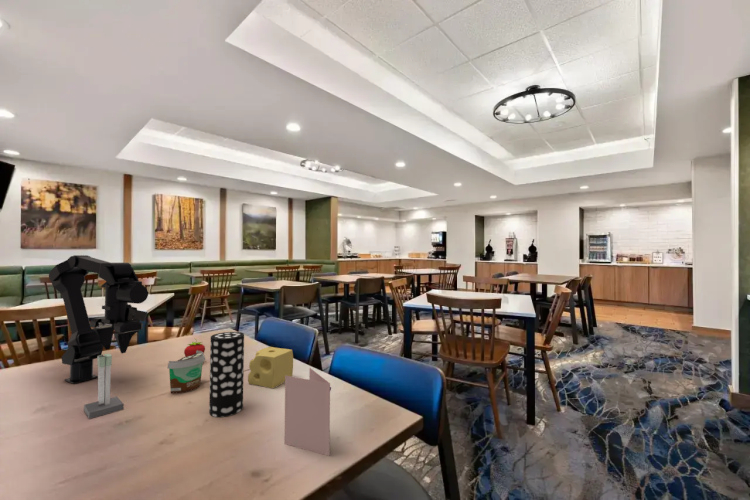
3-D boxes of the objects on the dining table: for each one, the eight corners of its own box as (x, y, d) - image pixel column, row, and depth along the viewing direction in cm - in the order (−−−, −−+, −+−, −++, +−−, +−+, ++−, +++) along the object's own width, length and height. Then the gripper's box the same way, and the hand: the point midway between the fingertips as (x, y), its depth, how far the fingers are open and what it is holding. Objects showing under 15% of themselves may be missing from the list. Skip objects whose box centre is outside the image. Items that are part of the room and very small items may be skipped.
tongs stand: (84, 410, 87) (85, 355, 87) (116, 401, 92) (118, 350, 93) (89, 419, 83) (90, 361, 83) (123, 409, 88) (124, 355, 88)
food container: (184, 397, 96) (185, 363, 96) (166, 395, 97) (167, 361, 97) (213, 381, 108) (213, 351, 108) (197, 380, 109) (197, 350, 109)
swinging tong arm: (97, 402, 88) (97, 355, 88) (102, 400, 88) (102, 354, 89) (99, 405, 86) (99, 357, 86) (104, 403, 87) (104, 356, 87)
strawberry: (180, 366, 123) (180, 339, 123) (198, 360, 129) (199, 335, 130) (189, 368, 120) (190, 341, 120) (208, 362, 127) (209, 337, 127)
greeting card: (333, 454, 69) (333, 382, 69) (299, 466, 65) (299, 390, 65) (312, 430, 78) (313, 367, 78) (281, 439, 74) (282, 372, 74)
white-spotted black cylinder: (249, 405, 91) (250, 333, 91) (227, 419, 83) (228, 340, 83) (225, 400, 93) (227, 330, 94) (201, 414, 86) (203, 337, 86)
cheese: (247, 384, 106) (248, 353, 106) (270, 373, 116) (270, 345, 116) (273, 389, 102) (273, 357, 102) (294, 378, 112) (294, 348, 112)
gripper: (160, 300, 107) (159, 348, 107) (128, 297, 116) (127, 341, 115) (121, 305, 97) (120, 358, 97) (89, 301, 106) (88, 349, 105)
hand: (115, 351), depth 104 cm, fingers open, 9 cm apart
